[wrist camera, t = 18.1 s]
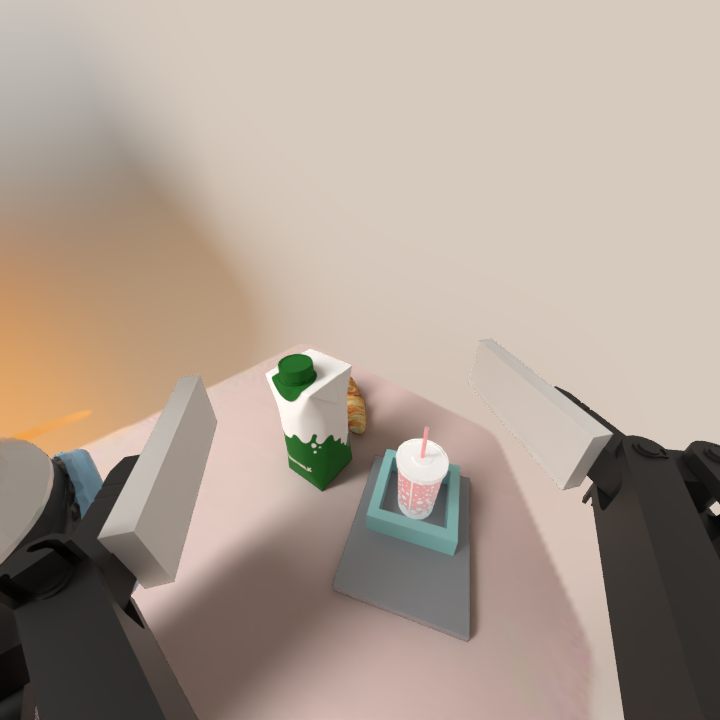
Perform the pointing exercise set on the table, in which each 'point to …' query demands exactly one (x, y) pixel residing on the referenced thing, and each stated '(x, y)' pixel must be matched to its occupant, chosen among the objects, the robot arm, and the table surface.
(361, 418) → the croissant
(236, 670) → the table surface
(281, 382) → the milk carton
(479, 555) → the table surface
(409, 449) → the beverage cup
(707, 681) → the robot arm
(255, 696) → the table surface
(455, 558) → the dock
